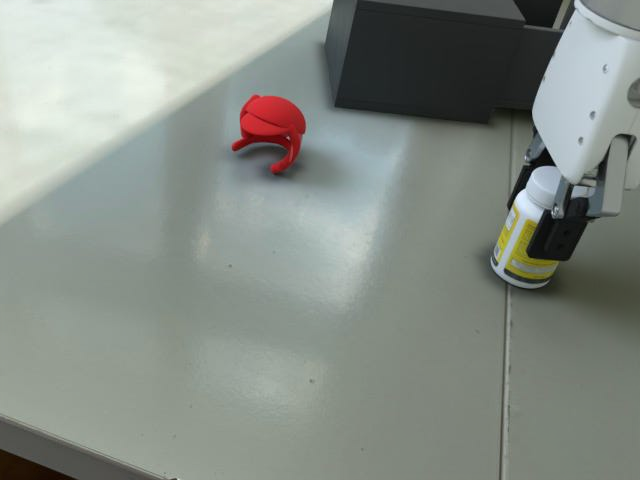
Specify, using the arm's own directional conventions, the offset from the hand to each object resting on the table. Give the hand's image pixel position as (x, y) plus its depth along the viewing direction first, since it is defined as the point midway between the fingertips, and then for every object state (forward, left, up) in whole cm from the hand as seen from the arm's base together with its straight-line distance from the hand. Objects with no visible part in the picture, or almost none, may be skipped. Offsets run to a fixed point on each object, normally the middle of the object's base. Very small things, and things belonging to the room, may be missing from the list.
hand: (536, 231), depth 59 cm
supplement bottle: (0, 0, -4) cm, 4 cm away
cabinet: (+5, -30, -4) cm, 31 cm away
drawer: (-9, -30, -3) cm, 32 cm away
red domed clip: (+20, -12, -4) cm, 24 cm away
